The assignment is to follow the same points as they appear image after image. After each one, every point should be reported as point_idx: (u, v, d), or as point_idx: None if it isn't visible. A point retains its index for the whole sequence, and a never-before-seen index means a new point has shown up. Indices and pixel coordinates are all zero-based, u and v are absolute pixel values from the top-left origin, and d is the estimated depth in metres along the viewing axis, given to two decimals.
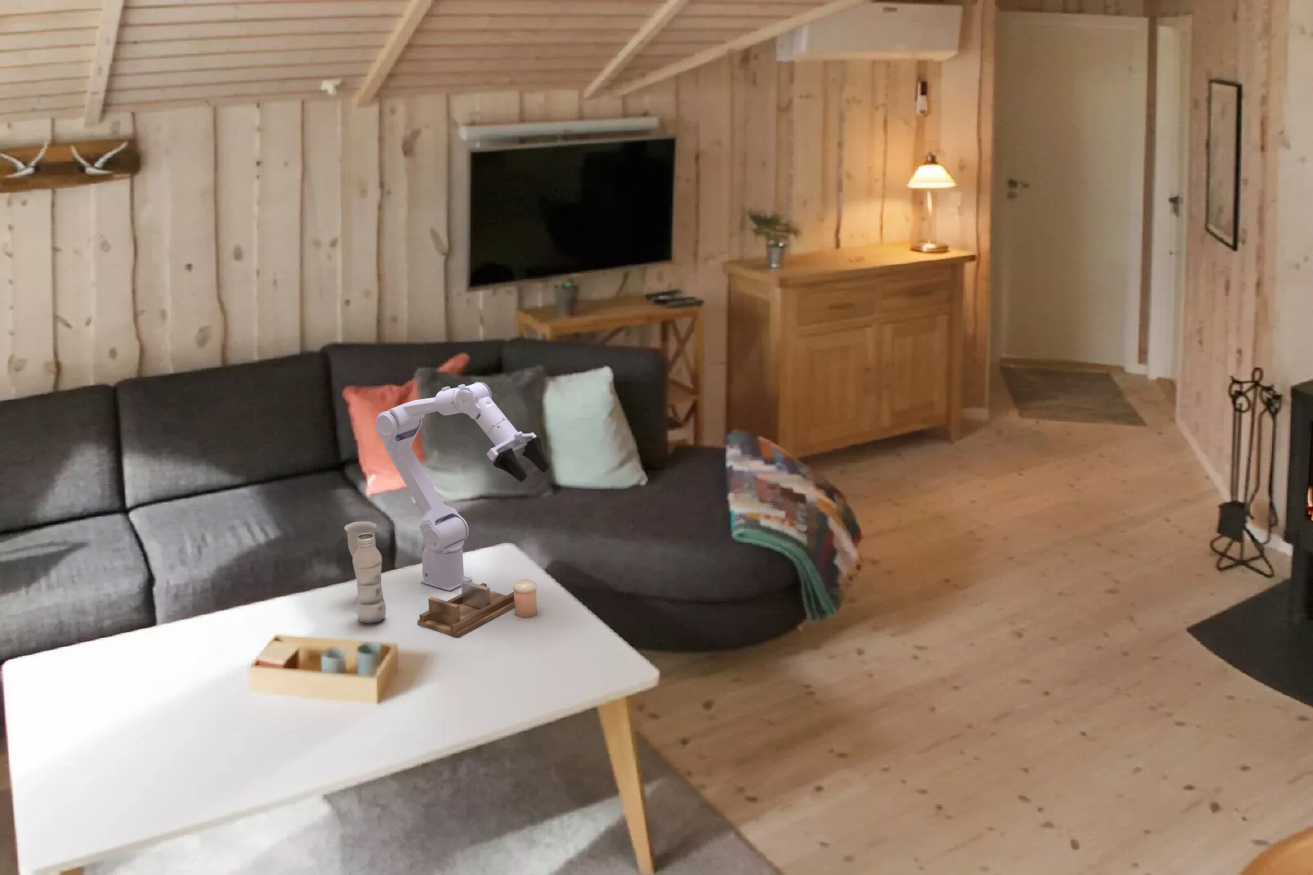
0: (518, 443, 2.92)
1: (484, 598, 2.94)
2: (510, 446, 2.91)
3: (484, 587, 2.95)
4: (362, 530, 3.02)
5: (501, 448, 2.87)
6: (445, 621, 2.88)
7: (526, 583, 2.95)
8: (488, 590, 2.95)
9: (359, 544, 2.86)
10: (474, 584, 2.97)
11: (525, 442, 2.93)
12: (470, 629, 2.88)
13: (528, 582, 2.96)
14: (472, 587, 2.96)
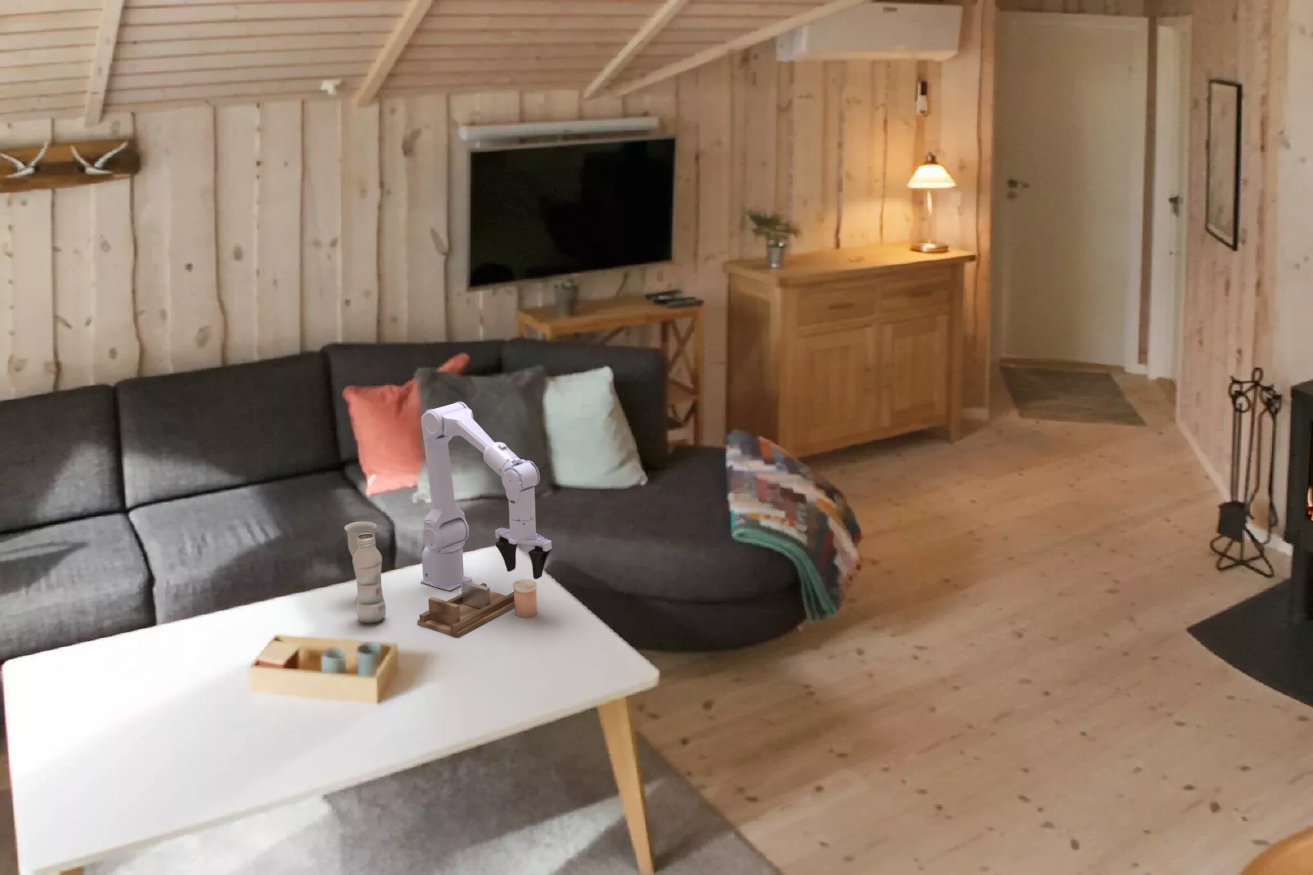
0: None
1: (484, 598, 2.94)
2: None
3: (484, 587, 2.95)
4: (362, 530, 3.02)
5: None
6: (445, 621, 2.88)
7: (526, 583, 2.95)
8: (488, 590, 2.95)
9: (359, 544, 2.86)
10: (474, 584, 2.97)
11: (535, 545, 2.89)
12: (470, 629, 2.88)
13: (528, 582, 2.96)
14: (472, 587, 2.96)
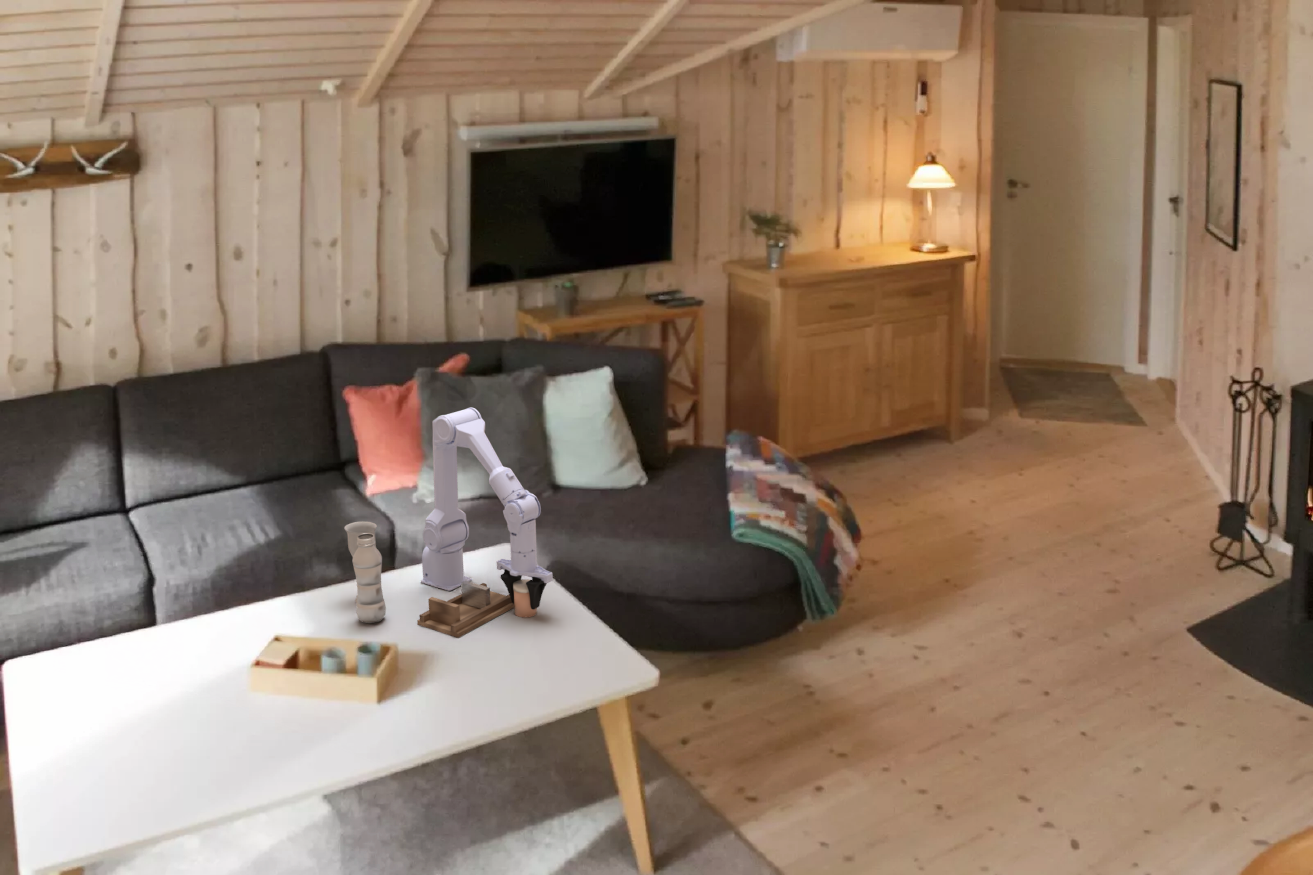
0: None
1: (484, 598, 2.94)
2: None
3: (484, 587, 2.95)
4: (362, 530, 3.02)
5: None
6: (445, 621, 2.88)
7: None
8: (488, 590, 2.95)
9: (359, 544, 2.86)
10: (474, 584, 2.97)
11: (536, 576, 2.92)
12: (470, 629, 2.88)
13: None
14: (472, 587, 2.96)
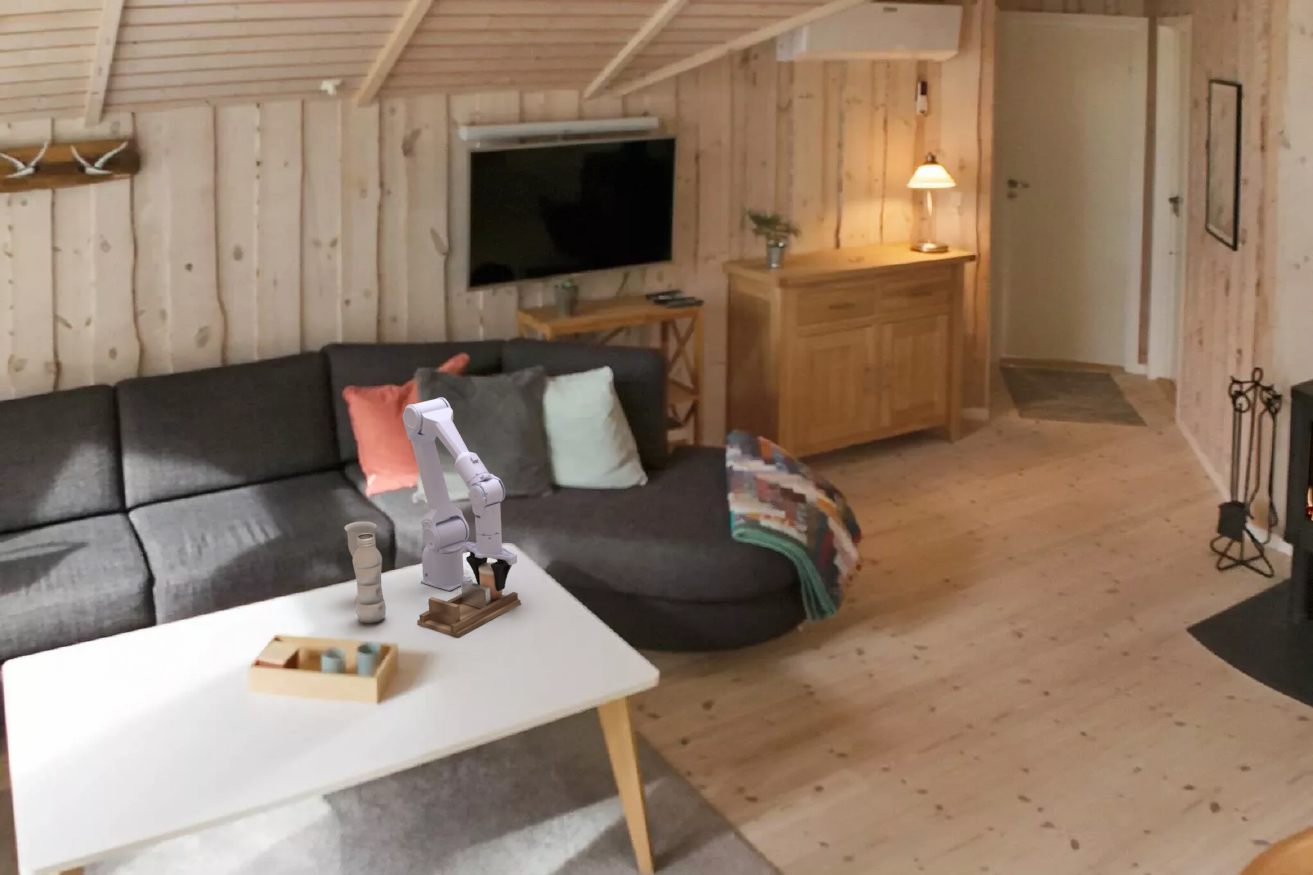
0: None
1: (484, 598, 2.94)
2: None
3: (484, 587, 2.95)
4: (362, 530, 3.02)
5: None
6: (445, 621, 2.88)
7: None
8: (488, 590, 2.95)
9: (359, 544, 2.86)
10: (474, 584, 2.97)
11: (501, 558, 2.96)
12: (470, 629, 2.88)
13: None
14: (472, 587, 2.96)
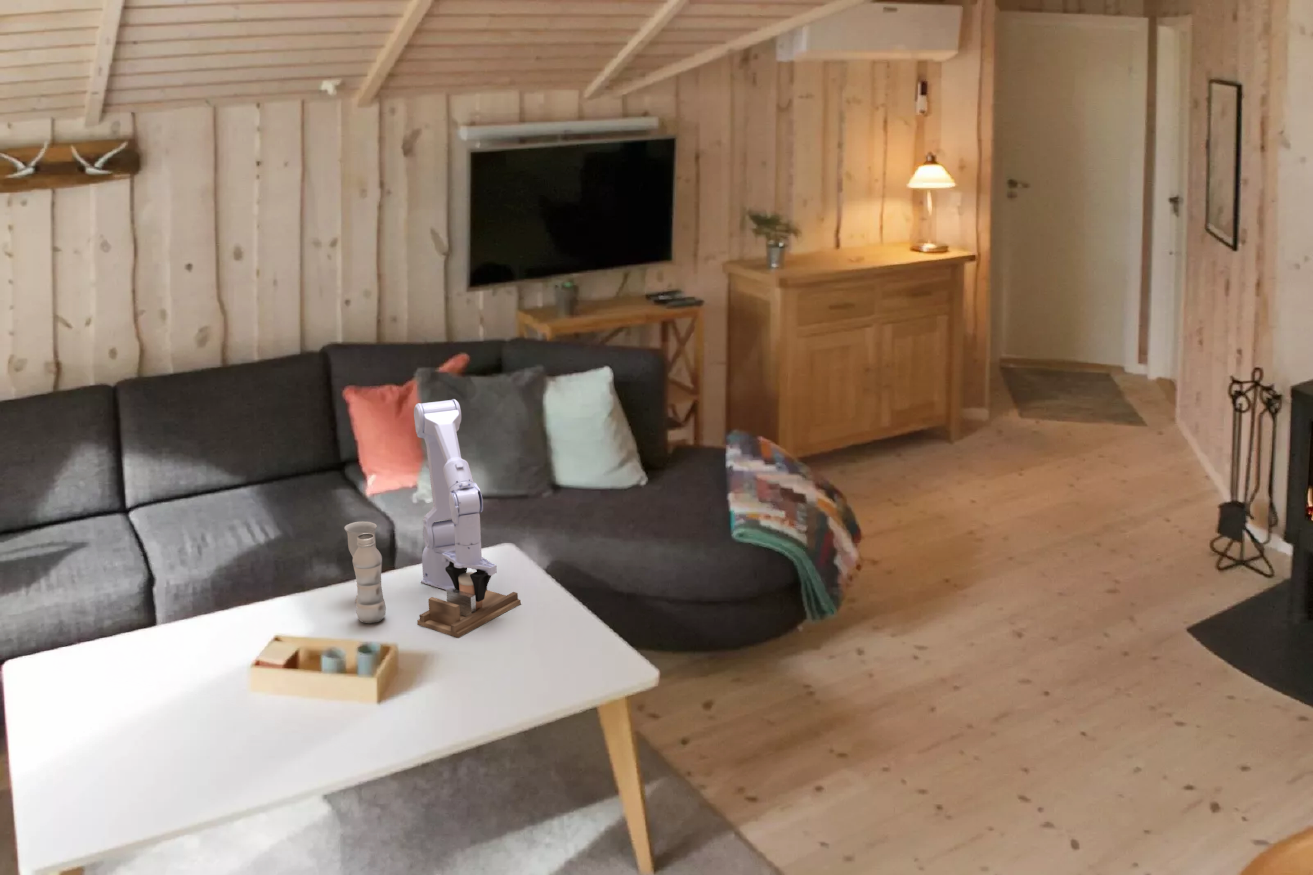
0: None
1: (469, 606, 2.91)
2: None
3: (469, 595, 2.91)
4: (362, 530, 3.02)
5: None
6: (445, 621, 2.88)
7: None
8: (473, 598, 2.91)
9: (359, 544, 2.86)
10: (459, 591, 2.93)
11: (481, 568, 2.91)
12: (470, 629, 2.88)
13: None
14: (457, 594, 2.92)
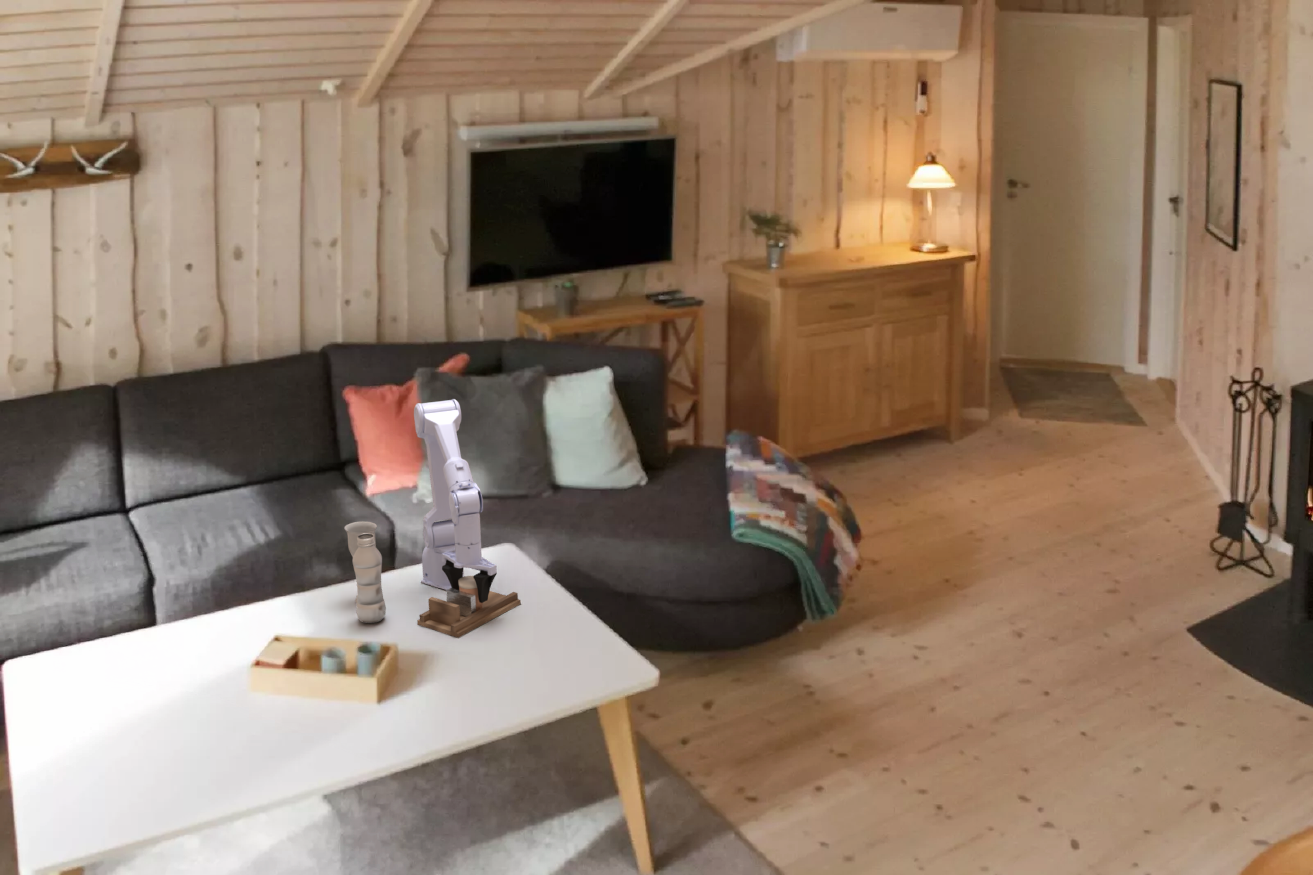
0: None
1: (469, 606, 2.91)
2: None
3: (469, 595, 2.91)
4: (362, 530, 3.02)
5: None
6: (445, 621, 2.88)
7: (471, 579, 2.95)
8: (473, 598, 2.91)
9: (359, 544, 2.86)
10: (459, 591, 2.93)
11: (480, 568, 2.91)
12: (470, 629, 2.88)
13: (473, 578, 2.95)
14: (457, 594, 2.92)
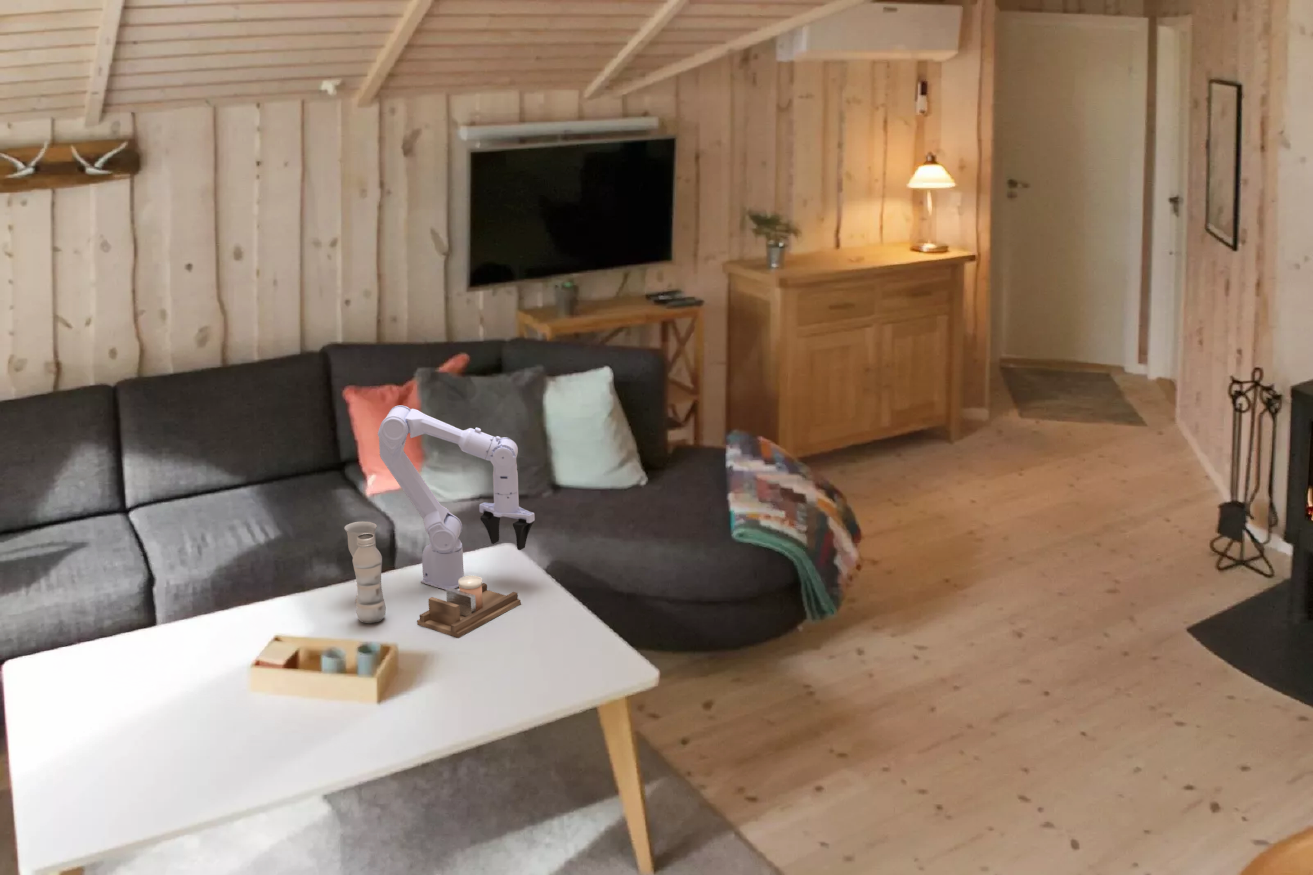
0: None
1: (469, 606, 2.91)
2: None
3: (469, 595, 2.91)
4: (362, 530, 3.02)
5: None
6: (445, 621, 2.88)
7: (471, 579, 2.95)
8: (473, 598, 2.91)
9: (359, 544, 2.86)
10: (459, 591, 2.93)
11: (519, 517, 3.06)
12: (470, 629, 2.88)
13: (473, 578, 2.95)
14: (457, 594, 2.92)
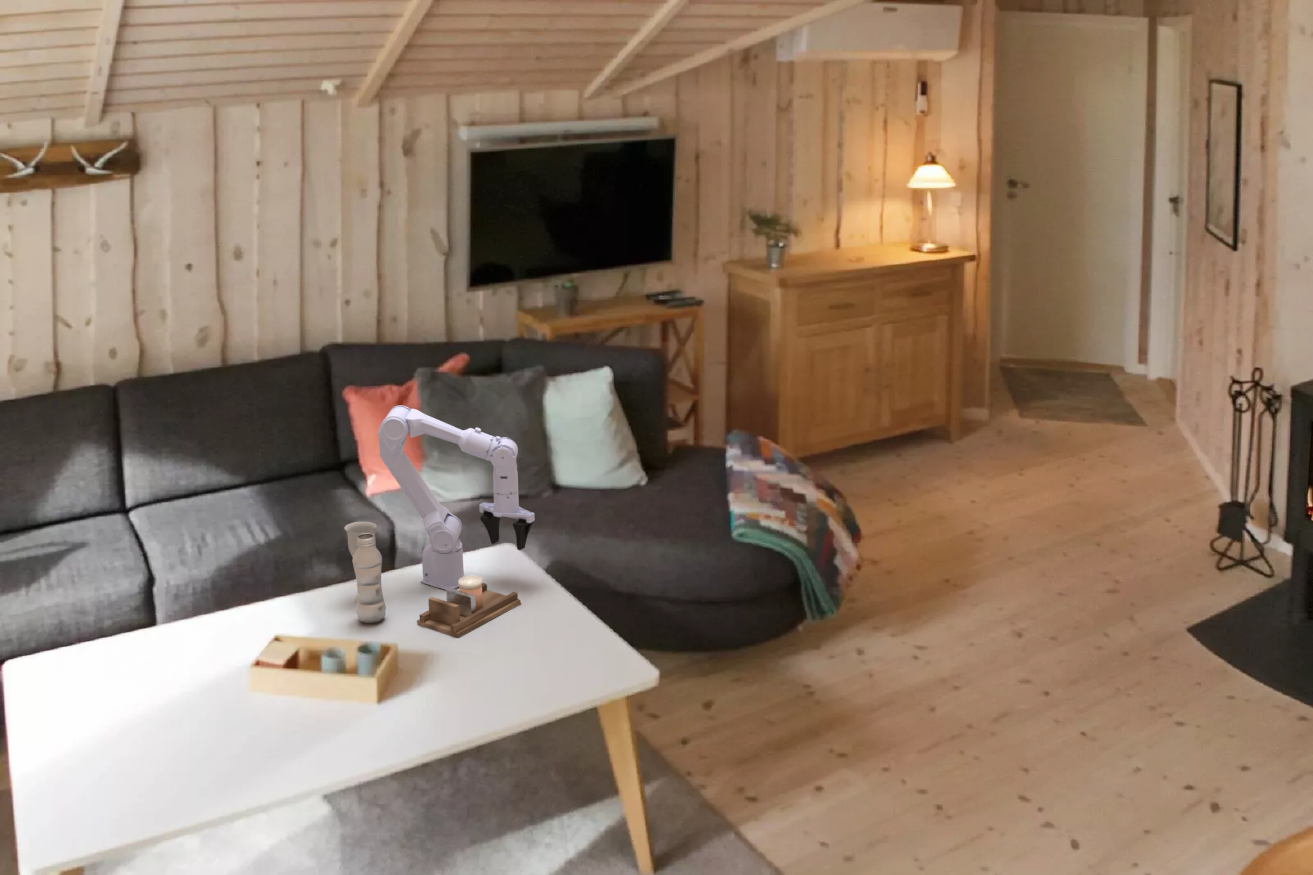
0: None
1: (469, 606, 2.91)
2: None
3: (469, 595, 2.91)
4: (362, 530, 3.02)
5: None
6: (445, 621, 2.88)
7: (471, 579, 2.95)
8: (473, 598, 2.91)
9: (359, 544, 2.86)
10: (459, 591, 2.93)
11: (519, 517, 3.06)
12: (470, 629, 2.88)
13: (473, 578, 2.95)
14: (457, 594, 2.92)
